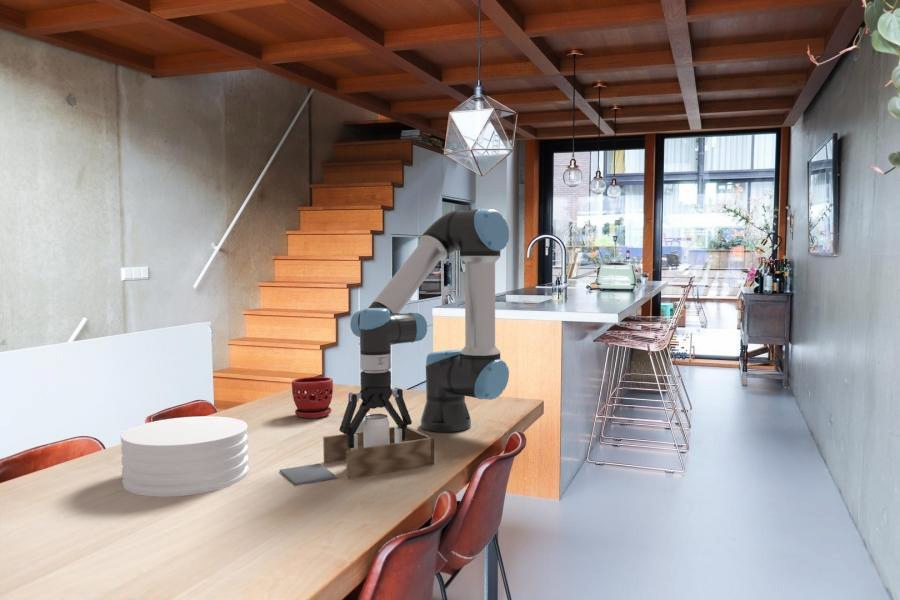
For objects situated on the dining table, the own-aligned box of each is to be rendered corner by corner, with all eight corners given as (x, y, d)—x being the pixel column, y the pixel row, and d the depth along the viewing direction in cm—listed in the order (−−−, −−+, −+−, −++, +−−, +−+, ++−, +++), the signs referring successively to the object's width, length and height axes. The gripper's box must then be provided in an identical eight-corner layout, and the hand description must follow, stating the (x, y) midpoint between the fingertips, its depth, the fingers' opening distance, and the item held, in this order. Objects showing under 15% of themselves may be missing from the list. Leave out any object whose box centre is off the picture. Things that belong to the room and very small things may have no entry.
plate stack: (126, 505, 153) (125, 451, 152) (119, 470, 178) (117, 424, 177) (260, 484, 166) (259, 435, 165) (235, 454, 191) (234, 411, 190)
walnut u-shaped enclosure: (405, 449, 195) (404, 425, 194) (434, 463, 181) (434, 438, 180) (323, 462, 183) (323, 436, 183) (348, 479, 169) (347, 451, 169)
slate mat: (318, 465, 180) (318, 463, 180) (337, 478, 170) (337, 476, 170) (279, 471, 175) (279, 469, 175) (295, 485, 165) (295, 483, 165)
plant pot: (341, 413, 238) (341, 377, 237) (313, 421, 227) (313, 383, 226) (312, 409, 245) (311, 374, 244) (283, 416, 234) (283, 380, 233)
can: (364, 460, 185) (363, 413, 184) (389, 459, 185) (389, 412, 184) (363, 467, 178) (362, 419, 177) (389, 466, 179) (389, 418, 178)
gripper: (336, 377, 171) (337, 467, 172) (424, 368, 183) (425, 453, 184) (324, 372, 177) (326, 460, 179) (411, 364, 189) (411, 446, 191)
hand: (376, 456), depth 182 cm, fingers open, 11 cm apart
